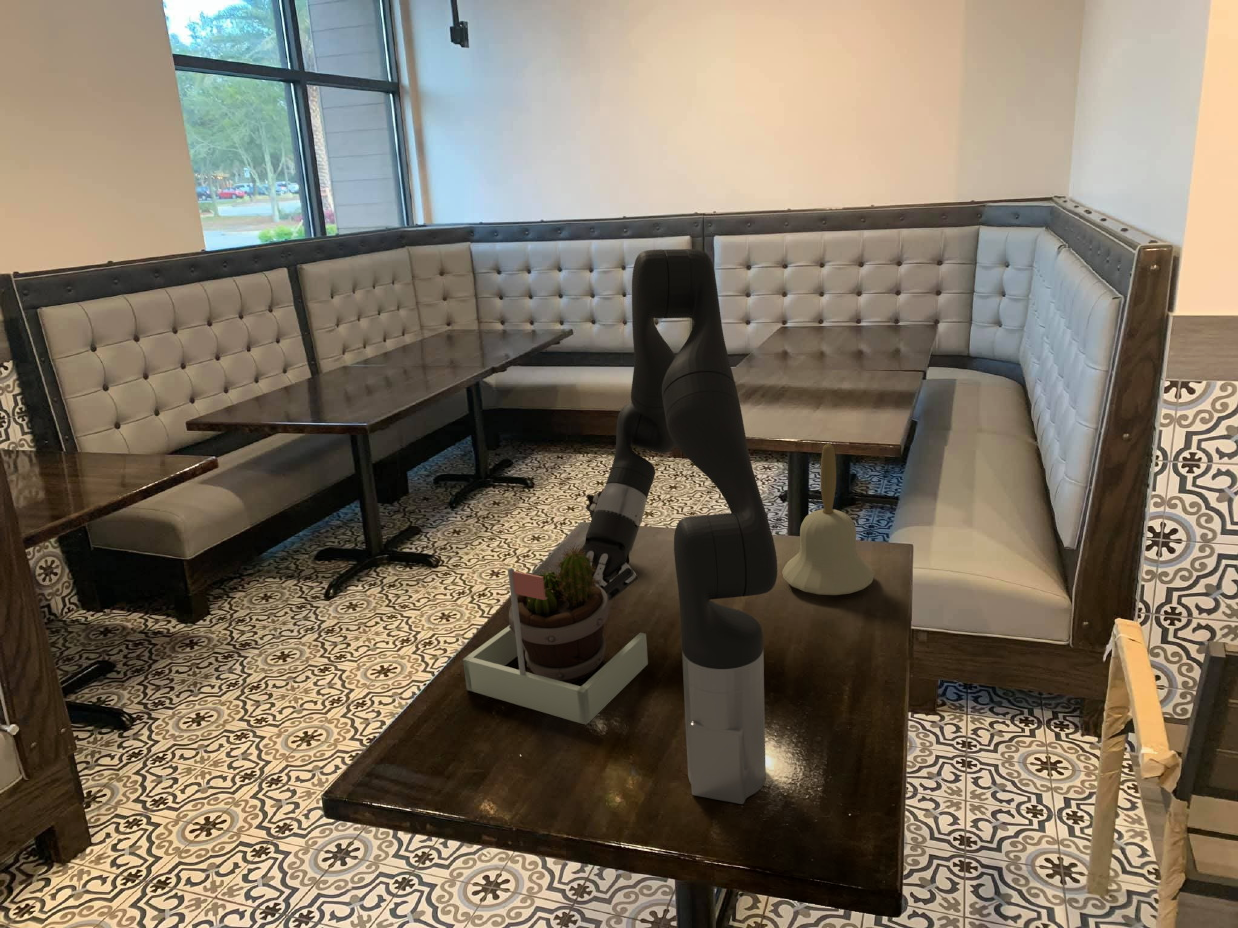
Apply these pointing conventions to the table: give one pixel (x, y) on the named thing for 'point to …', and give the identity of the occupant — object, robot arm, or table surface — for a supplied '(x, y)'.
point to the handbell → (828, 545)
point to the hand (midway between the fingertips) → (581, 622)
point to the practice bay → (542, 692)
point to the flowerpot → (565, 621)
